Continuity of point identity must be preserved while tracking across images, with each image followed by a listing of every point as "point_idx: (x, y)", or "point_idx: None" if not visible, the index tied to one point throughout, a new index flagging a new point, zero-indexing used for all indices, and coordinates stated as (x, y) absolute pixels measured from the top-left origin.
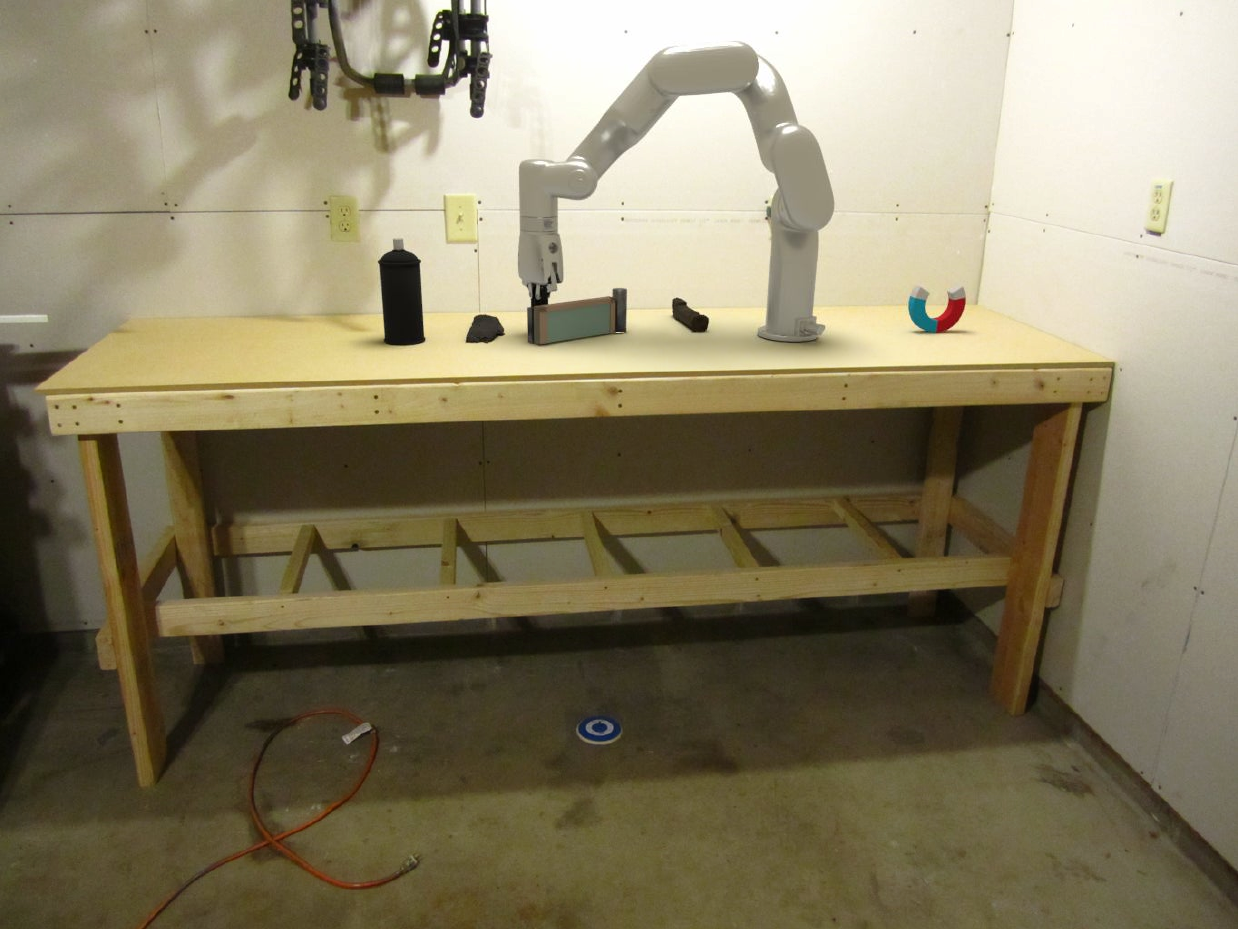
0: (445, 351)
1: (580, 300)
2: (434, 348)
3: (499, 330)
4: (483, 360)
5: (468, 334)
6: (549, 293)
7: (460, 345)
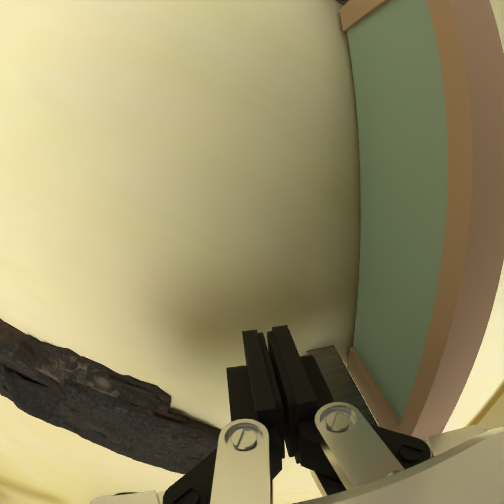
0: None
1: (478, 199)
2: None
3: (150, 407)
4: None
5: None
6: (395, 436)
7: None
